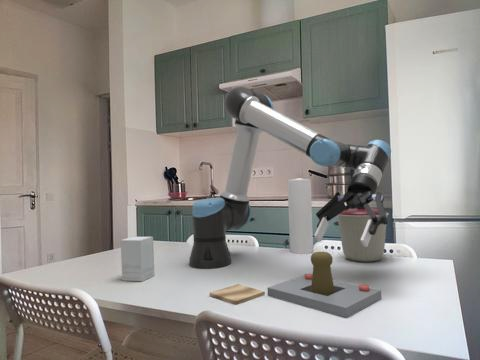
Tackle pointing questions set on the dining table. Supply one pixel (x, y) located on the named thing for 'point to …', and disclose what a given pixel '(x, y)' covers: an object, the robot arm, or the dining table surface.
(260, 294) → the coaster
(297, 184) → the cylinder container
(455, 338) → the dining table surface
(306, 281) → the plate
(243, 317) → the dining table surface
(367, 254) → the canister
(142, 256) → the supplement box
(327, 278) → the olive pawn
